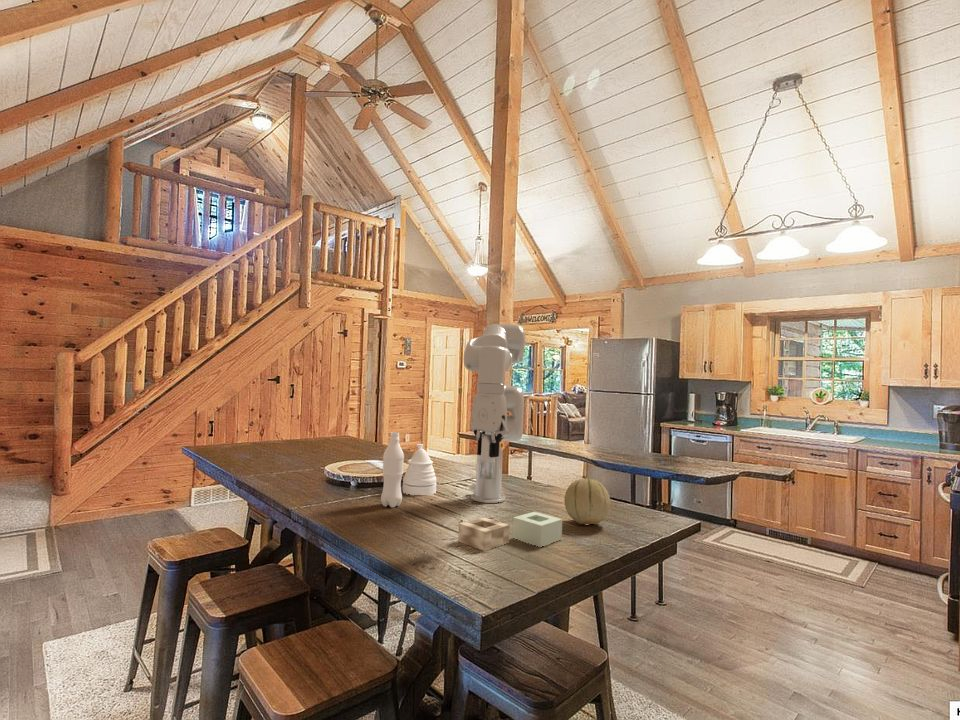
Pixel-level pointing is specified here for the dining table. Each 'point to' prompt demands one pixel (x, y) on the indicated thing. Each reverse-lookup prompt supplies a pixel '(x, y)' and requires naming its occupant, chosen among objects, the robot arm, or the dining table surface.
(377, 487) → the dining table surface
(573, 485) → the cantaloupe
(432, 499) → the dining table surface
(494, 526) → the socket block
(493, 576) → the dining table surface
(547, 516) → the block
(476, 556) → the dining table surface
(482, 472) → the steel peg
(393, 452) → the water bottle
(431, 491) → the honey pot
